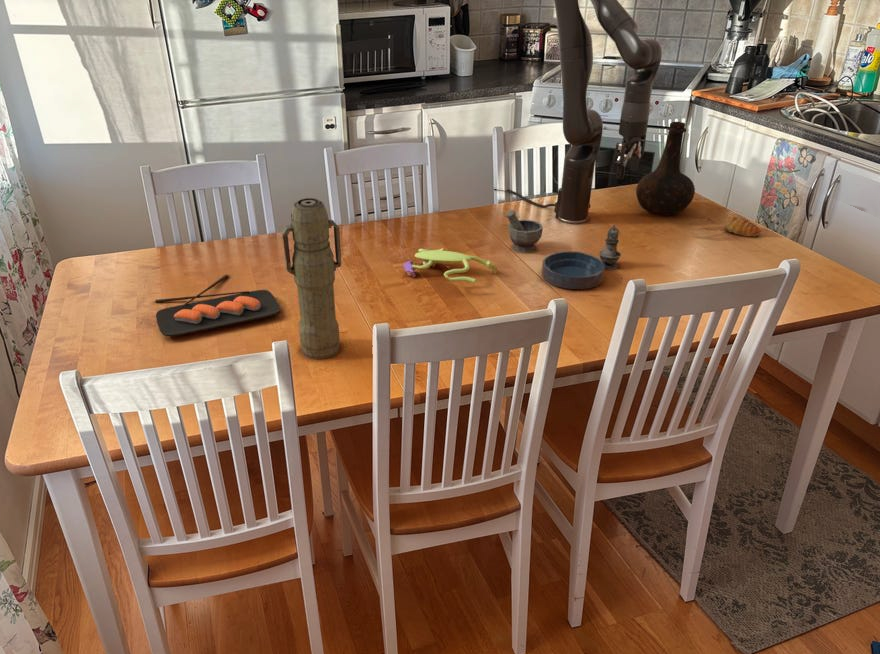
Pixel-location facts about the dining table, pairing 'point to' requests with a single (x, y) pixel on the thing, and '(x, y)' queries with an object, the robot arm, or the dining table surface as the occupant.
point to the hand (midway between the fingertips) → (626, 174)
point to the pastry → (742, 227)
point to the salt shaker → (611, 249)
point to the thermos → (314, 276)
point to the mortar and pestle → (523, 232)
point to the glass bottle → (667, 179)
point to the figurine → (445, 257)
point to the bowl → (573, 270)
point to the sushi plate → (215, 311)
